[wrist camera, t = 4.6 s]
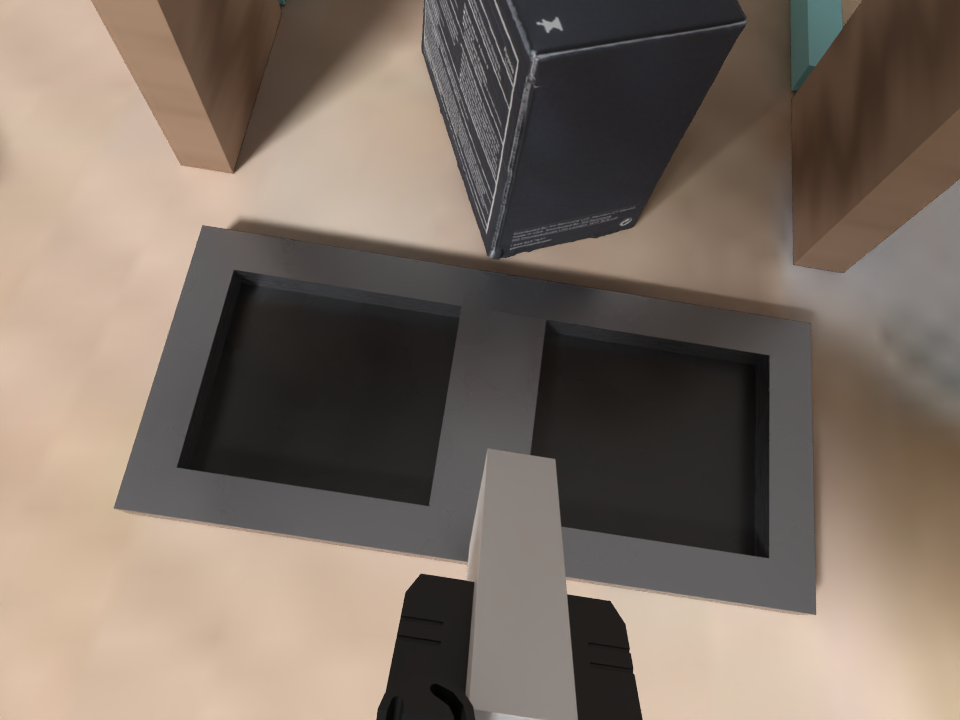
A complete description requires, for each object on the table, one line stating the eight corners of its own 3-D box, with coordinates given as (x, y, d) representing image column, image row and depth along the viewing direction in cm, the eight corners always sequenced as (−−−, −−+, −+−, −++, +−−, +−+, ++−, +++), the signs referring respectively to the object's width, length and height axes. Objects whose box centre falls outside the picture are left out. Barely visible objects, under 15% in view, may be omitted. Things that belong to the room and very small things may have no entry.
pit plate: (211, 241, 26) (202, 225, 25) (794, 335, 27) (810, 323, 26) (129, 513, 23) (113, 508, 22) (796, 614, 23) (816, 614, 22)
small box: (646, 230, 28) (767, 21, 18) (487, 266, 27) (524, 66, 17) (561, 22, 31) (625, -251, 21) (416, 48, 30) (413, -228, 20)
